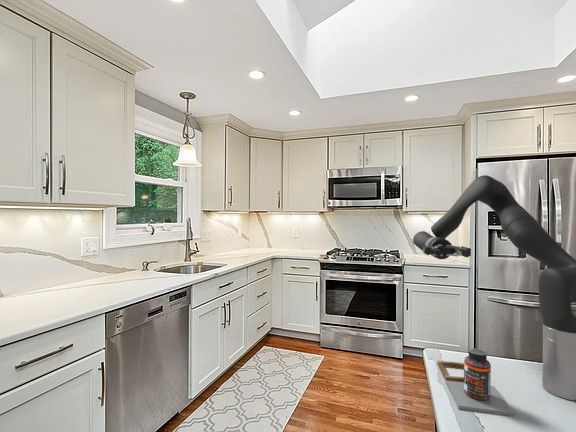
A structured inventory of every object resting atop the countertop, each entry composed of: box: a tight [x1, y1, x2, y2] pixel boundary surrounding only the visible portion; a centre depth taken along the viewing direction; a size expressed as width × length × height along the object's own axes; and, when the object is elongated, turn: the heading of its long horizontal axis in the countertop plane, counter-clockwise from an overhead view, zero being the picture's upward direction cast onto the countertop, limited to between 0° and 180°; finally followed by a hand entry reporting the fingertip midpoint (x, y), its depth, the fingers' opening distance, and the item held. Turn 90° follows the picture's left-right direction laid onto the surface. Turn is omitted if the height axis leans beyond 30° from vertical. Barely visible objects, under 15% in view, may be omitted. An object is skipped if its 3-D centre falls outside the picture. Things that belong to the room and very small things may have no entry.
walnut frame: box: [436, 360, 464, 383], centre depth 94 cm, size 10×10×1 cm
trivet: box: [445, 381, 515, 417], centre depth 82 cm, size 12×12×1 cm
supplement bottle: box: [463, 348, 492, 400], centre depth 82 cm, size 6×6×11 cm
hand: (453, 253), depth 103 cm, fingers open, 8 cm apart
